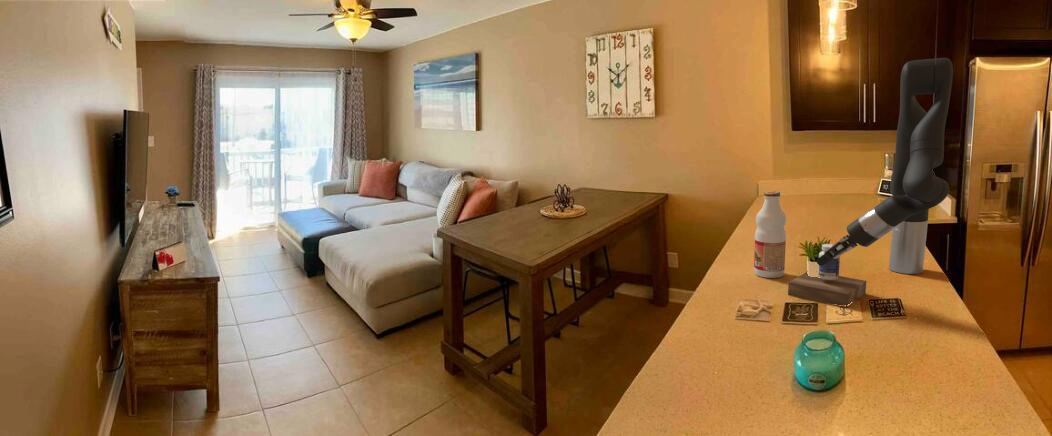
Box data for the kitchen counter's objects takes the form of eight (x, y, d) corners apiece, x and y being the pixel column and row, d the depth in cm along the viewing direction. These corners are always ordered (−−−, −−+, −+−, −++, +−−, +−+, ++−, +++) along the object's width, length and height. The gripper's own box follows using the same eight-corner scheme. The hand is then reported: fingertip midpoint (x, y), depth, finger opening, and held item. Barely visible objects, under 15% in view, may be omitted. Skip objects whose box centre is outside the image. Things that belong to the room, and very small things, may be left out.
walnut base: (808, 282, 170) (809, 270, 169) (865, 293, 158) (866, 280, 158) (787, 294, 161) (788, 282, 160) (846, 307, 149) (847, 294, 148)
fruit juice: (777, 280, 174) (781, 195, 168) (748, 275, 180) (751, 193, 175) (788, 273, 180) (792, 191, 174) (760, 268, 187) (763, 189, 181)
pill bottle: (841, 280, 155) (843, 247, 153) (821, 280, 156) (823, 247, 154) (834, 274, 160) (836, 243, 159) (815, 274, 162) (816, 243, 160)
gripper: (869, 212, 154) (822, 246, 165) (851, 220, 144) (803, 256, 156) (889, 232, 151) (840, 265, 162) (872, 242, 142) (821, 277, 153)
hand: (822, 261), depth 159 cm, fingers closed on pill bottle, 5 cm apart
